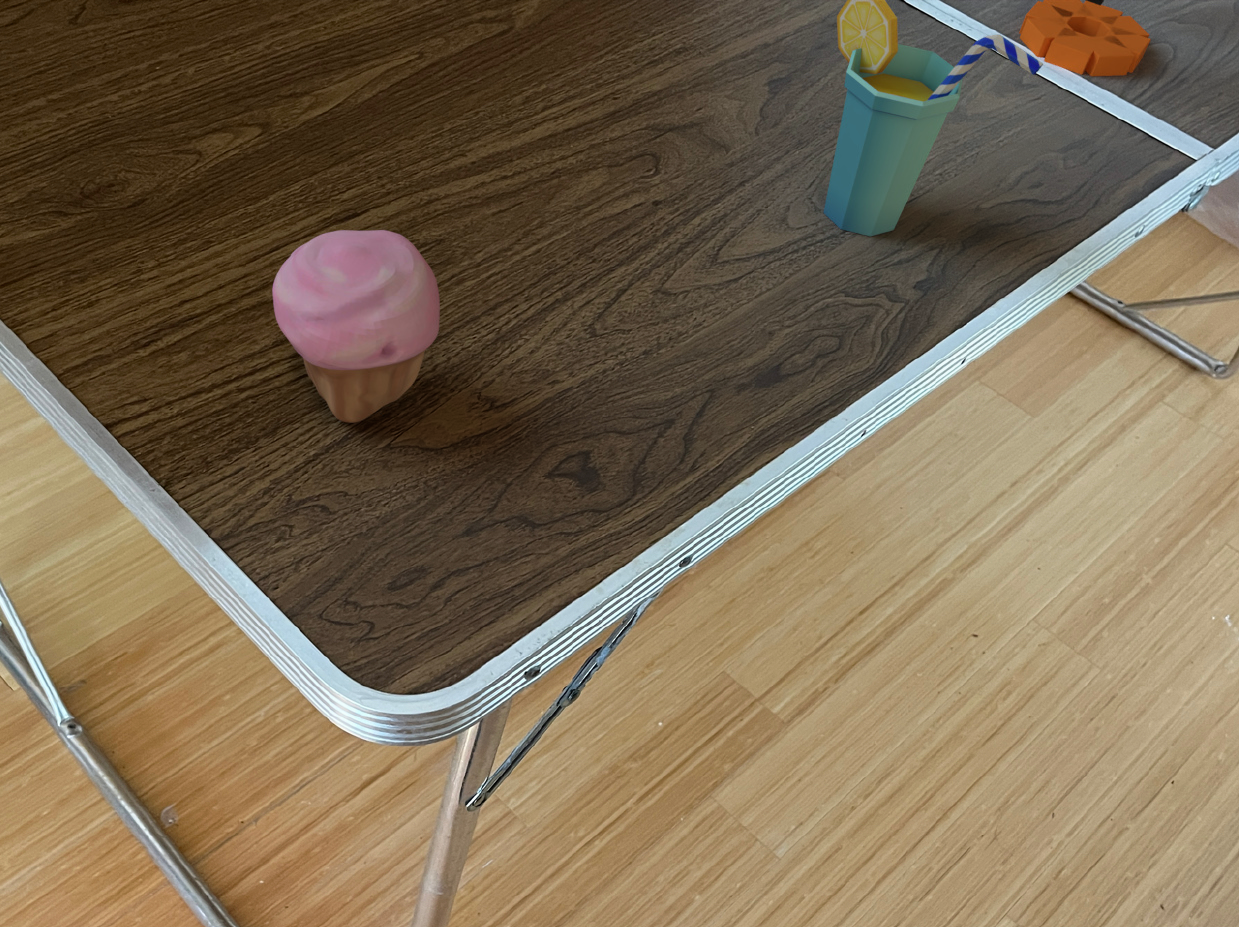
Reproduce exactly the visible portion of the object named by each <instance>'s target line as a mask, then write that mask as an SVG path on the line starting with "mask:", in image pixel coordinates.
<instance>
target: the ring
mask: <svg viewBox="0 0 1239 927" xmlns="http://www.w3.org/2000/svg"><path fill="white" fill-rule="evenodd" d="M1123 14H1124V12H1123V11H1122V10H1118V9H1115V8H1114V7H1113V8H1112V7H1110V6H1107V5H1104V4H1101V6H1100V5H1097V4H1095V3H1092V2H1089V1H1086V0H1084V2H1083V1H1082V0H1042V1H1040V0H1038V1H1037V2H1036V3H1034V5H1033V6H1032V7H1031V9H1030V10H1029V11H1028V12H1027V13H1026V14H1025V17H1024V19H1023V21H1022V24H1021V27H1020V29H1019V31H1018V34H1019V35H1020V36H1019V39H1020V40H1021V42H1023V43H1024V44H1025V46H1026V47H1027V48H1028V49H1029V51H1030V52H1031V53H1033V55H1034V56H1035V58H1044V60H1043V62H1044V63H1047V64H1050V65H1053V66H1056V67H1059V68H1061V69H1063V70H1066V71H1070V72H1072V73H1076V74H1078V75H1083V74H1084V73H1085V72H1086V73H1087V74H1088V75H1089V76H1090V77H1114V76H1127V74H1128V73H1130V74H1133V72H1134V71H1135V69H1137V66H1138V65H1139V63H1140V62H1141V61H1142V59H1143V58H1144V55H1145V53H1146V51H1147V49H1148V47H1149V45H1150V43H1151V40H1152V39H1151V38H1150V33H1149V32H1147V31H1146V30H1145V29H1144V28H1143V27H1142V25H1140V23H1139V22H1137V21H1136V20H1135V19H1134V18H1133V17H1132V16H1131V15H1123Z"/></svg>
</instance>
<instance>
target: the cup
mask: <svg viewBox="0 0 1239 927" xmlns="http://www.w3.org/2000/svg"><path fill="white" fill-rule="evenodd" d="M836 28H837V29H836V30H837V48H838V50H839V52H840V53H841V54H842V56H843V57H844V59H845V60H846V62H847V63H848V64H847V65H848V66H847V68H846V72H845V78H844V79H845V80H844V85H843V86H844V88H845V89H847V90H846V94H845V100H844V106H843V111H842V116H841V120H840V127H839V130H838V136H837V141H836V146H835V152H834V157H833V162H832V167H831V172H830V176H829V182H828V188H827V193H826V198H825V203H824V207H823V214H824V215H825V216H826V217H827V218H828V219H829V220H830V221H831V222H833V224H834V225H836V227H837V228H839V229H840V230H842V231H847V232H851V233H855V234H859V235H862V236H866V237H874V236H877V235H880V234H885V233H888V232H891V231H894V230H895V228H896V226H897V224H898V222H899V219H900V217H901V215H902V213H903V211H904V208H905V206H906V205H907V202H908V200H909V198H910V196H911V193H912V191H913V190H914V187H915V184H916V183H917V180H918V178H919V177H920V174H921V172H922V170H923V168H924V166H925V163H926V162H927V160H928V157H929V155H930V152H931V150H932V148H933V146H934V144H935V142H936V140H937V138H938V135H939V133H940V131H941V129H942V126H943V124H944V122H945V120H946V118H947V116H948V114H949V113H952V112H954V110H955V108H956V106H957V104H958V103H959V100H960V99H961V92H962V86H963V81H964V77H965V76H966V75H967V74H968V72H970V70H971V69H972V67H974V66H975V64H976V63H977V62H978V60H979V59H980V58H981V57H982V56H983V55H984V53H986V51H989V50H994V51H995V52H997V53H998V54H1000V55H1002V56H1003V57H1004V58H1006V59H1008V60H1009V61H1010V62H1012V63H1014V64H1015V65H1017V66H1019V67H1020V68H1022V69H1023V70H1025V71H1026V72H1028V73H1030V74H1031V75H1032V76H1035V75H1036V74H1037V73H1038V72H1039V71H1040V70H1041V69H1042V67H1043V65H1044V63H1043V62H1042V61H1040V60H1038V59H1037V57H1034V56H1033V55H1032V54H1030V53H1028V52H1027V51H1025V50H1024V49H1022V48H1021V47H1019V46H1018V45H1016V44H1015V43H1013V42H1012V41H1010V40H1009V39H1007V38H1006V37H1004V36H1003V35H1001V34H999V33H998V34H991V35H985V36H984V37H981V38H979V39H978V40H976V41H975V42H974V43H973V44H972V45H971V46H970V48H969V49H968V50H967V51H966V53H965V54H964V55H963V56H962V58H960V60H958V62H957V64H955V66H953V65H952V64H951V63H949V62H947V61H946V60H945V59H944V58H942V57H941V56H940V55H938V54H937V53H936V52H935V51H932V50H928V49H923V48H920V47H914V46H910V45H905V44H901V43H899V34H898V31H899V30H898V17H897V15H895V13H894V11H893V10H892V8H891V6H889V4H888V3H887V1H886V0H846V2H844V4H843V6H842V7H841V9H840V11H839V12H838V14H837V15H836Z"/></svg>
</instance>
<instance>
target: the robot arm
mask: <svg viewBox="0 0 1239 927" xmlns="http://www.w3.org/2000/svg"><path fill="white" fill-rule="evenodd" d="M1085 1H1089V2H1092V3H1095V4H1097V5H1100V6H1101V5H1103V4H1104V2H1105V0H1085Z"/></svg>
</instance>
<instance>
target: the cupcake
mask: <svg viewBox="0 0 1239 927" xmlns="http://www.w3.org/2000/svg"><path fill="white" fill-rule="evenodd" d="M271 291H272V302H273V311H274V316H275V320H276V322H277V326H278V327H279V329H280V331H281V332H282V333H283V335H284V336H285V338H287V340H288V341H289V343H290V344H291V345H292V347H293V349H294V350H295V351H296V352H297V354H298V355H300V356H301V357H302V360H303V364H304V367H305V370H306V373H307V376H308V378H309V379H310V380H311V382H312V383H313V385H314V387H315V389H316V390H317V393H318V395H319V396H320V397H321V398H322V399H323V400H324V401H325V402H326V405H327V406H328V408H329V410H330V412H331V413H332V415H333V416H334V417H335V418H336V419H337V420H339V421H341V422H343V423H350V424H352V423H353V424H354V423H359V422H361V421H364V420H366V419H367V418H368V417H371V415H373V414H374V413H376V412H377V411H379V410H380V409H382V408H384V407H385V406H387V405H388V404H391V403H393V402H396V401H398V400H399V399H400V398H401V397H402V396H403V395H404V394H405V393H406V392H407V391H408V390H409V389H410V388H411V387H412V386H413V385H414V383H415V382H416V379H417V377H418V375H419V373H420V370H421V367H422V363H423V360H424V357H425V352H426V350H427V349H428V348H429V347H431V345H432V344H433V343H434V342H435V340H436V339H437V337H438V335H439V332H440V319H441V318H440V315H441V314H440V313H441V306H440V305H441V304H440V303H441V301H440V292H439V287H438V282H437V277H436V276H435V274H434V272H433V269H432V268H431V267H430V265H429V263H428V262H427V261H426V260H425V258H424V257H423V255H422V254H421V253H420V251H419V250H418V249H417V247H416V246H415V245H414V243H412V241H410V240H409V239H407V237H405V236H403V235H401V234H400V233H397V232H393V231H391V230H390V231H389V230H387V229H386V230H385V229H377V230H375V229H374V230H349V229H348V230H347V229H341V230H335V231H329V232H325V233H322V234H320V235H318V236H315V237H313V238H312V239H310V240H309V241H307V242H305V243H304V244H303V243H302V244H301V245H300V246H298V247H297V248H296V249H295V250H294V251H292V253H291V254H290V256H289V257H288V258H287V259H286V261H284V263H282V265H281V266H280V268H279V270H278V272H277V273H276V275H275V278H274V280H273V284H272V290H271Z"/></svg>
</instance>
